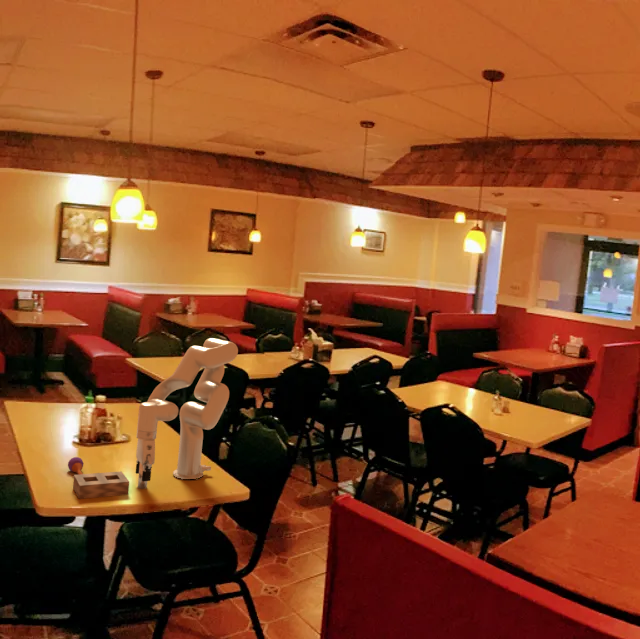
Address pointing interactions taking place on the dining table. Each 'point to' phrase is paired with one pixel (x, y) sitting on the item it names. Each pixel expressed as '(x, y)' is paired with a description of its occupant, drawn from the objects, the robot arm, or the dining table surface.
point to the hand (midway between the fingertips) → (142, 476)
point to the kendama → (75, 465)
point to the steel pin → (141, 483)
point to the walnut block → (100, 484)
